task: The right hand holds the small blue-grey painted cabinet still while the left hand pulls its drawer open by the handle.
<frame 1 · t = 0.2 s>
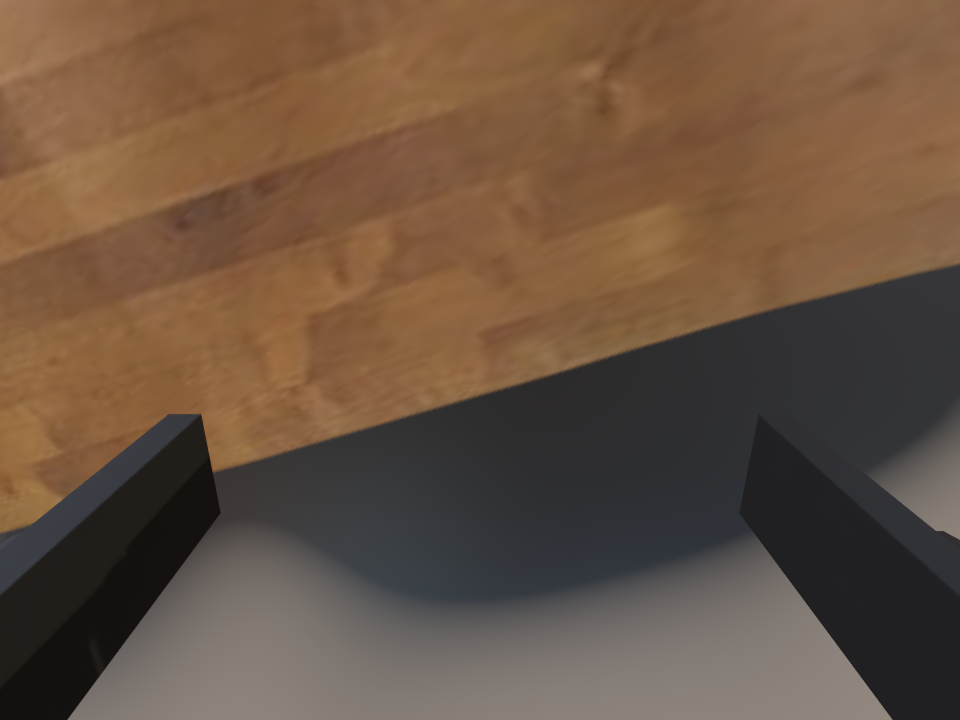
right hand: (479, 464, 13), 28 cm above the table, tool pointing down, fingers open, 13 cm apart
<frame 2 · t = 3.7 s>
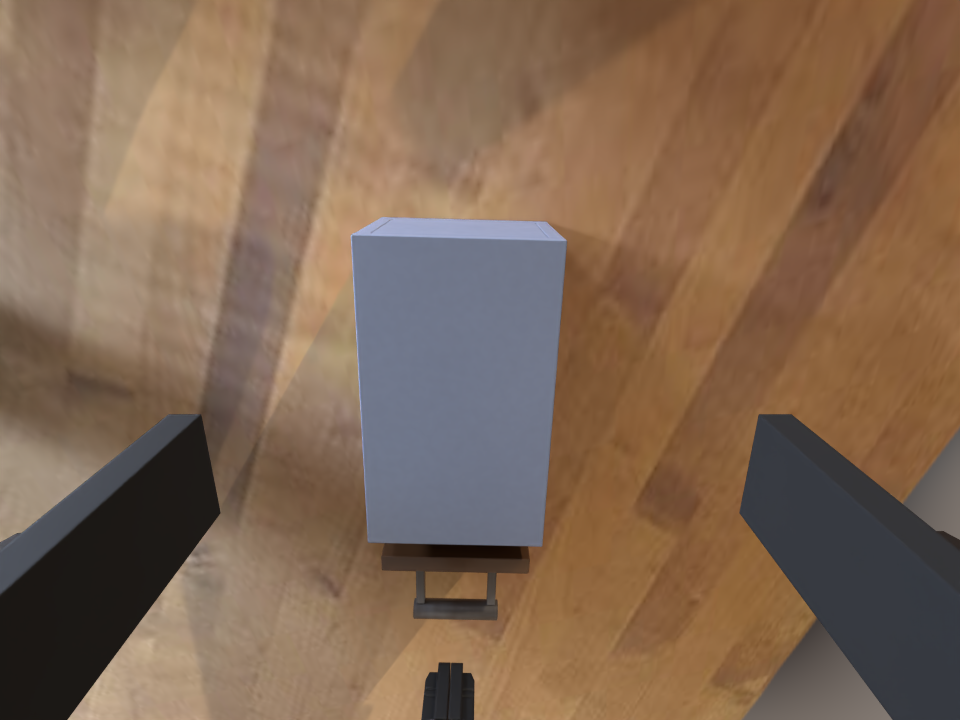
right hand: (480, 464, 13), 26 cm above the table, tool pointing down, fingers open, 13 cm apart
drawer: (458, 465, 37), point 5 cm above the table, slide at 1.8 cm
cabinet: (462, 354, 39), on the table
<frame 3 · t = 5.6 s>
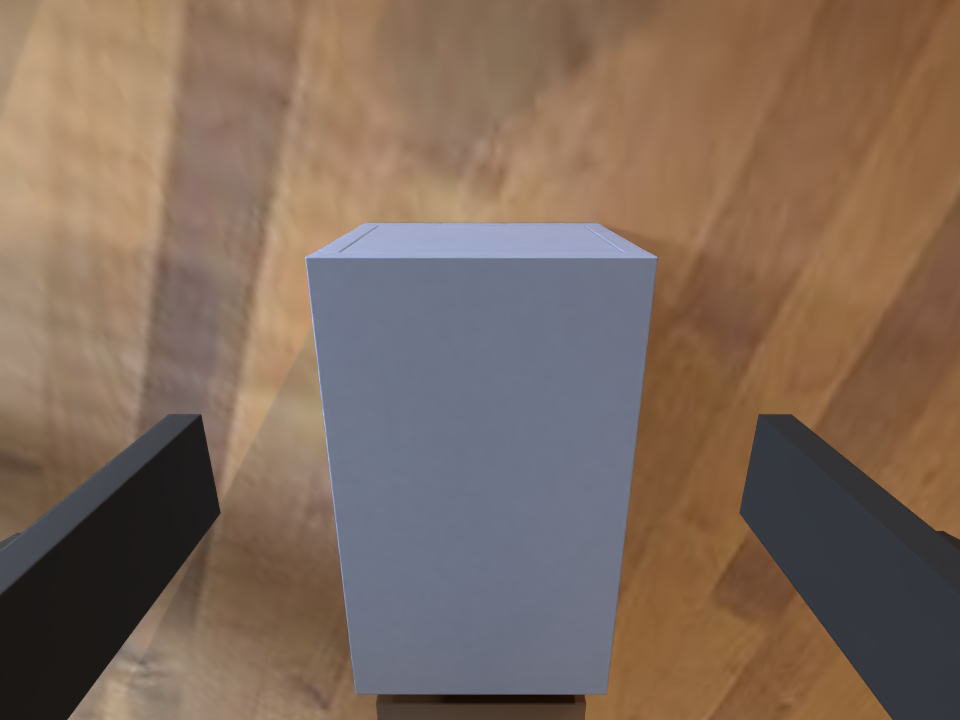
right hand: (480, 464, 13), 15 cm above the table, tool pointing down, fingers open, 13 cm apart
drawer: (481, 566, 27), point 5 cm above the table, slide at 1.8 cm
cabinet: (481, 407, 29), on the table
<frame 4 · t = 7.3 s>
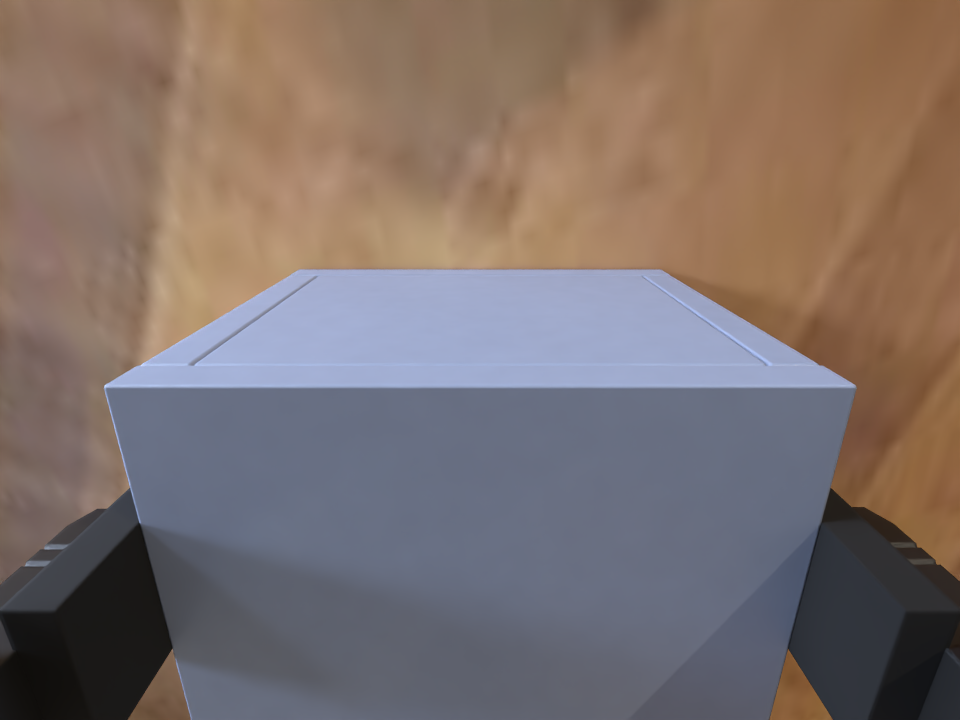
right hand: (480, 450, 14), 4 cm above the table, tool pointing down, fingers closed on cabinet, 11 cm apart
cabinet: (480, 530, 20), on the table, touching right hand
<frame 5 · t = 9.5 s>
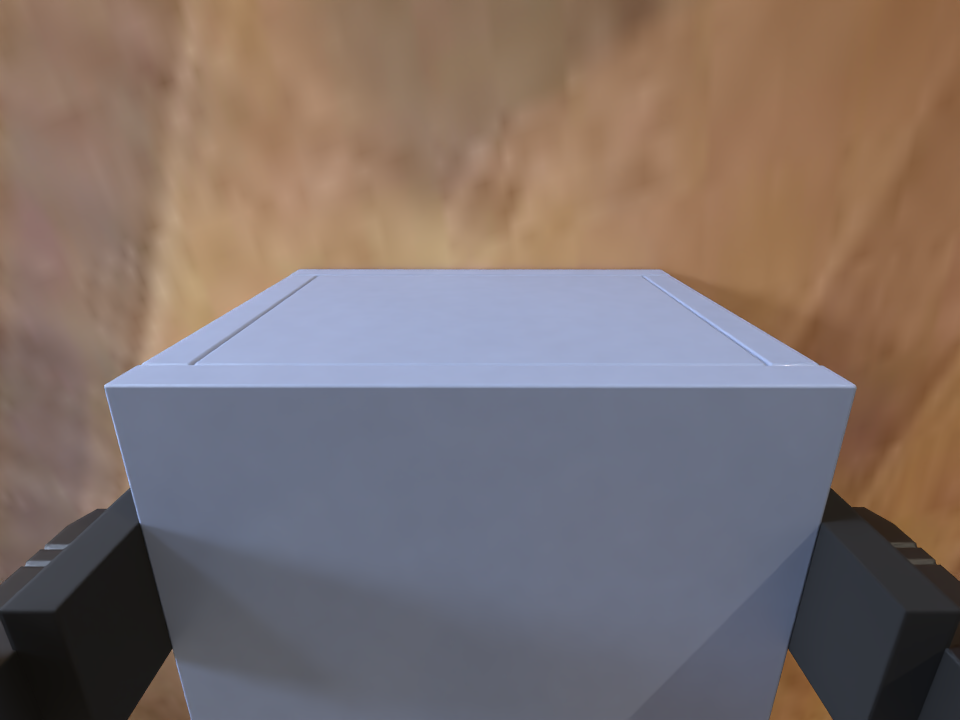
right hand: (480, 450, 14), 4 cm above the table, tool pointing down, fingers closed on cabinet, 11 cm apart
cabinet: (479, 530, 20), on the table, touching right hand
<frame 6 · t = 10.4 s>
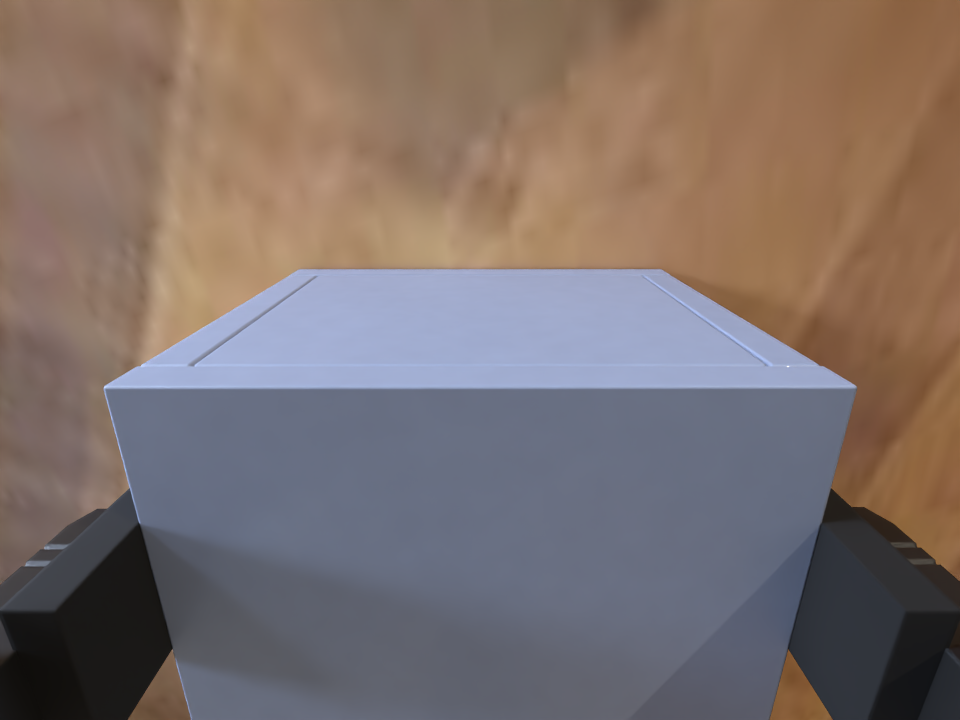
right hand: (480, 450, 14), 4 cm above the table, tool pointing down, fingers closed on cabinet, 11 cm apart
cabinet: (480, 530, 20), on the table, touching right hand
when the right hand's fingers open (4 cm above the table, at t = 12.1 s): cabinet stays where it is, on the table.
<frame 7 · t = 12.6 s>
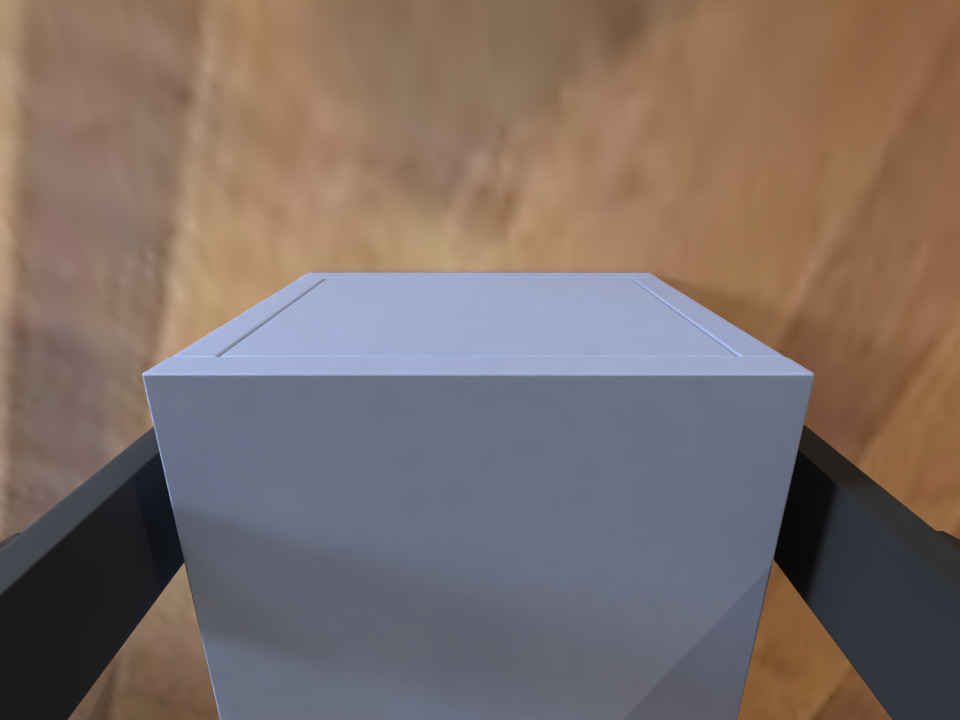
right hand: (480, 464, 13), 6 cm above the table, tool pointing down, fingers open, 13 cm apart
cabinet: (478, 522, 20), on the table
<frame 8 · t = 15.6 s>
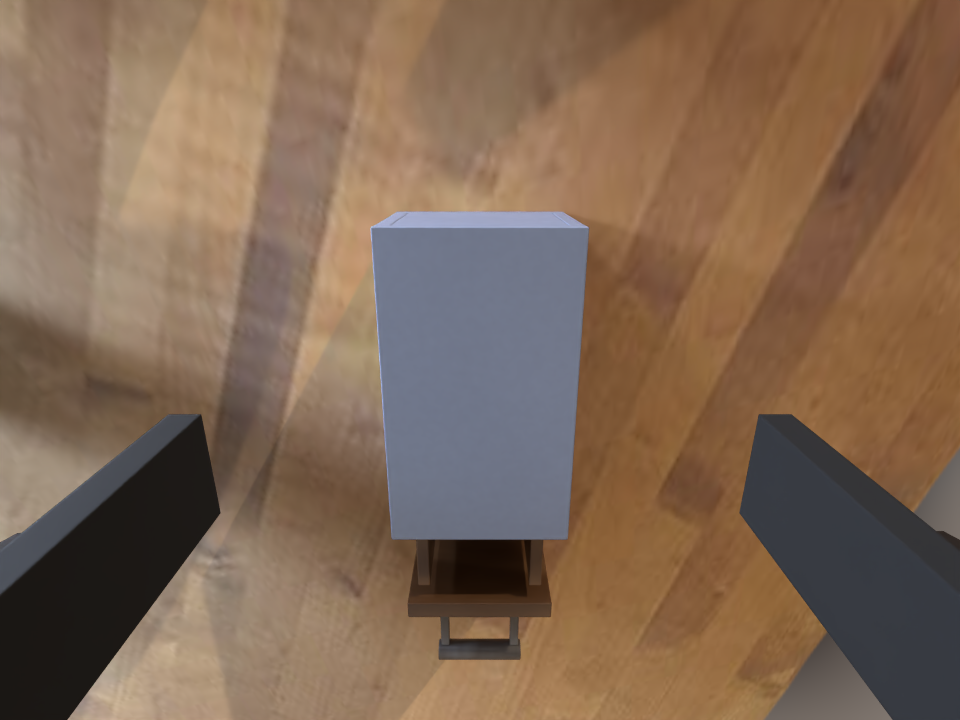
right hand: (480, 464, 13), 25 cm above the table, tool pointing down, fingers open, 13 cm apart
drawer: (479, 512, 38), point 5 cm above the table, slide at 6.0 cm
cabinet: (479, 348, 39), on the table
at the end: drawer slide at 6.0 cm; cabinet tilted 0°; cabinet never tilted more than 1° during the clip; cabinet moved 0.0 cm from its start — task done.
